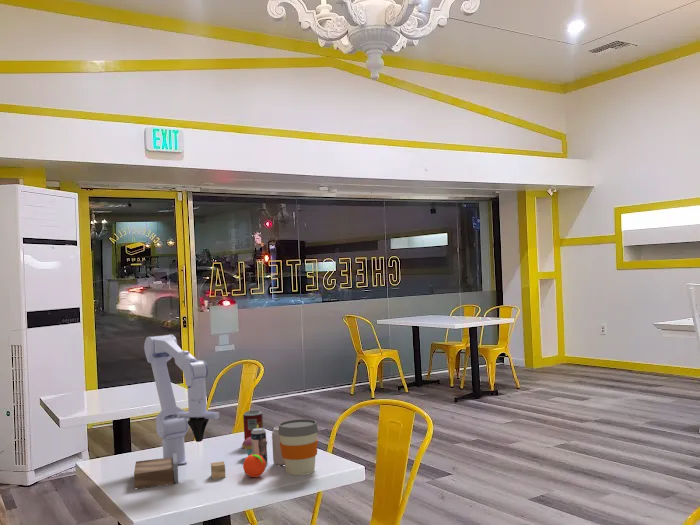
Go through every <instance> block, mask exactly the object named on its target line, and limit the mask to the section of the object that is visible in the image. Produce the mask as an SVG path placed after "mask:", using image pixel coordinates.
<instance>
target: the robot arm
mask: <svg viewBox="0 0 700 525" xmlns="http://www.w3.org/2000/svg"><path fill="white" fill-rule="evenodd" d="M143 344H144V345H143V350H144V354H145V358H146V360H147V363H148V364H151V369H152V373H153V378H154V382H155V386H156V387H155V388H156V390H157V395H158V400H159V403H160V407H161V408H160V409H161V410H160V411H159V413H158V414H157V415H156V416H155V425H156V426H155V428H156V430H155V431H156V433H157V435H158V436H159V438H160V439H162V458H170V457H172V459H173V454H175V453H177V465H184V464H187V456H186V450H185V436H186V435H187V432H188V431H189V429H191V431H192V433H193V437H194V439H195V442H196V443H201V442H202V441H203V439H204V434H205V431H206V427H207V424H208V422H209V420H218V419H220V412H219V411H209V410H208V409H207V408H208V407H207V406H208V405H207V389H206V387H207V386H206V378H207V377H208V376H209V367H208V366H209V365H208V364H207V362H206V361H205V360H203V359H202V360H198V359H197V358H196V357H195V356H194V355H192V354H191V353H190V351H189V350H183V349H182V348H181V347H180V346H179V344H178V340H177V337H176V336H175V335H174V334H166V335H164V334H163V335H155V336H147V337H146V338H145V340H144V343H143ZM172 358H173V359H174V364H175V365H176V366H177V367H178V368H179V369H180V370H181V371H182V373H183V378H184V380H185V381H184V382H185V385H186V386H187V399H188V400H187V401H188V404H187V405H188V411H185V410H184V409H183V408H180V407H179V406H177V402H176V398H175V395H174V390H173V386H172V381H171V378H170V373H169V369H168V365H167V363H168V362H169V361H170V360H171V359H172Z"/></svg>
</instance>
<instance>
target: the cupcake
mask: <svg viewBox="0 0 700 525" xmlns="http://www.w3.org/2000/svg"><path fill="white" fill-rule="evenodd" d="M258 427H259V425H257V428H258ZM266 444H267V445H268V441H267V440H266ZM241 445H242V449H245V451H246V454H247V457H248V456H249V455H251V454H252V440H251V437H249V438H247V439H246V440H245V439H244V440H243V441H242V444H241Z"/></svg>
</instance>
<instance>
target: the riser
mask: <svg viewBox="0 0 700 525" xmlns="http://www.w3.org/2000/svg"><path fill="white" fill-rule="evenodd" d="M210 470H211V479H212V480H215V479H223V478H226V465H225V461H224V460H223V461H216V462H210Z"/></svg>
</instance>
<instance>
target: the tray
mask: <svg viewBox="0 0 700 525" xmlns="http://www.w3.org/2000/svg"><path fill="white" fill-rule="evenodd" d="M178 468H179V467H178V465H177V453H175V454H173V479H174V484H175V483H179V469H178Z"/></svg>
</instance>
